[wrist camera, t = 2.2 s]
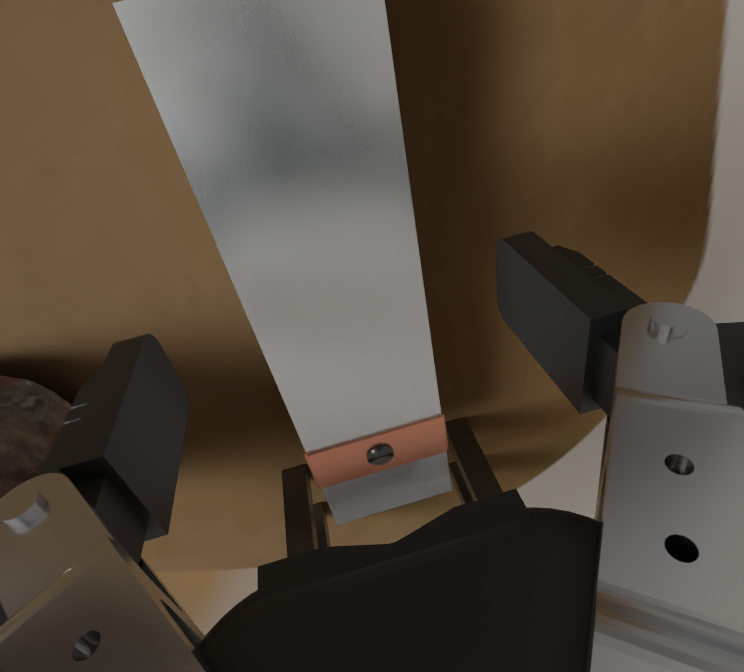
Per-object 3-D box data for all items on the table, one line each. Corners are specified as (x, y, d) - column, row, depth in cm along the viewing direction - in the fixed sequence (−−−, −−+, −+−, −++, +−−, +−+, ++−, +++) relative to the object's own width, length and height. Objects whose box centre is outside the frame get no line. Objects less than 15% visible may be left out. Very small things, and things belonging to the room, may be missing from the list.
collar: (281, 471, 24) (294, 662, 17) (464, 417, 25) (548, 581, 18) (287, 482, 25) (301, 671, 18) (466, 430, 25) (547, 593, 18)
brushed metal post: (152, 2, 12) (104, 4, 8) (341, -42, 13) (384, -61, 9) (320, 436, 23) (335, 530, 19) (419, 407, 24) (455, 493, 20)
